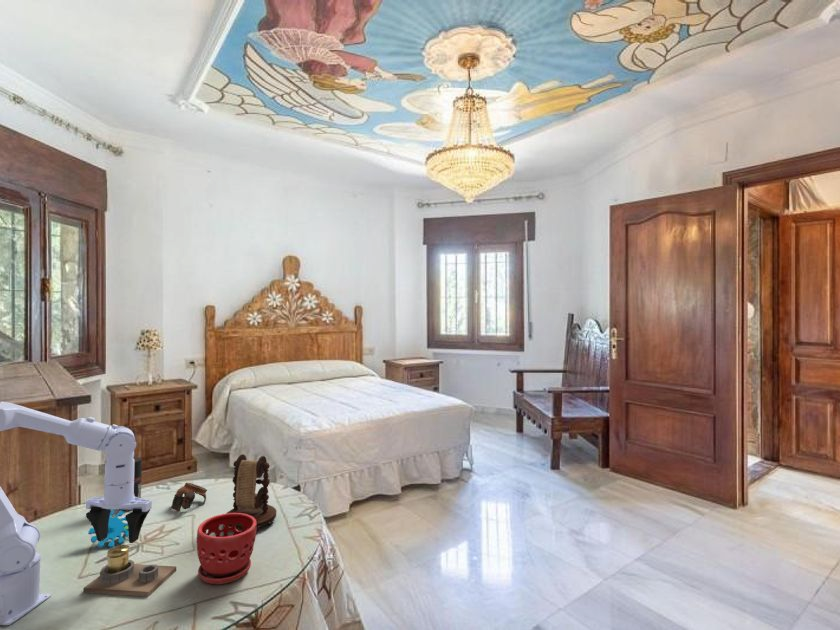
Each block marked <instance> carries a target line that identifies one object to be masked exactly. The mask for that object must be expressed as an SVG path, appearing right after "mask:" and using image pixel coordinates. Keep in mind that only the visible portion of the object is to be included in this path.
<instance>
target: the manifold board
mask: <svg viewBox="0 0 840 630" xmlns="http://www.w3.org/2000/svg"><path fill="white" fill-rule="evenodd" d="M176 571H177V566H175V565H173V566H172V565H158V564H141V563H140V564H139V563H137V564H136V563H135V561H133V560H131V559H129V560H128V569H126V570H124V571H121V572H119V573H114V574H108V564H106V565H105V566H103V567H102V568H101V569H100V571H99V576H97V577H96V578H95V579H93V580H91V581H90V582H89V583H88V584H86V586H84V587H83V593H86V594H103V595H104V594H105V595H106V594H107V595H117V596H118V595H120V596H133V597H134V596H135V597H139V596H140V597H150V596H151V595H152V594H153V593H154V592H155V591H156V590H157V589H159V588H160V587H161V585H163V584H164V583H165V582H166V581H167V580H169V578H170V577H171V576H172V575H174V573H175V572H176Z"/></svg>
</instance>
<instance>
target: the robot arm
mask: <svg viewBox="0 0 840 630" xmlns="http://www.w3.org/2000/svg"><path fill="white" fill-rule="evenodd" d="M95 419H96V418H95V417H92V416H88V417H87V418H85V417H84V418H83V417H79V418H77V419H75V420H69V419H66V418H61V417H59V416H56V415H52V414H49V413H46V412H43V411H39V410H36V409H32V408H29V407H26V406H23V405H20V404H19V405H18V404H15V403H12V402H8V401H1V402H0V432H3V431H8V430H10V429H15V428H18V427H19V428H25V429H29V430H35V431H39V432H43V433H48V434H54V435H58V436H63V437H64V439H65V441H66V443H67V444H70V445H74V446H78V447H81V448H85V449H90V450H93V451H98V452H101V451H105V454H106V462H105V464H104V493H103V495H104V496H100V497H91V498H89V499H87V500H85V509H86V510H89V511H88V512H86V513H85V518H87V520H88V521H89V522H90V525H91V524H92V525H91V526H92V528H94V530H95V533H96V534H95V536H96V537H97V540H96V541H97V542H100V541H104V539H105V538H107V535H108V523H109V516H110V512H111V510H119V509H124V510H132V511H129V513H127V514H125V515H124V517H125V518H126V520H127V521H126V523H128V528H129V536H128V543H129V544H133V543H135V542H136V541H138V540H139V537H140V534H141V529H142V527H143V524H144V522H145V520H146V518H147V516H148V514H149V513H150V511H151V509H152V505H153V504H152V501H153V500H151V499H146V498H142V497H141V498H138V497H134V464H135V460H134V458H133V457H135V450H136V447H137V442H136V441H137V440H136V438H135V434H134V432H133V430H131V429H130V428H128V427H126V426H124V425H121V426H119V425H117V424H114V423H113V424H112V425H110V424H107V423H106V424H105V423H102V422H99V421H95ZM40 538H41V532H40V530H39V528H38V527H37V526H36V525H33V524H31V523H30V522H28V521H27V520H26V519H25V516H23V515H21V514H19V513H18V512H17V511H16V509H15V507H14V506H13V504H12V503H11V501H10V499H9V497H7V495H6V493H5V491H4V489H2V487H1V486H0V626H10V625H12V624H14V623H15V622H16V621H18V620H19V619H20V618H22V617H23V616H25V615H26V614H27V613H29V612H31V611H32V610H33V609H35V608H36V607H38V606H39V605H40V604H42V603H43V602H45V601H46V600H48V599H49V598H50V597H51V593H41V592H40V591H41V589H40V588H41V587H40V585H41V583H40V582H41V581H40V580H41V554H39V552H37V551H36V550H37V545H38V543H39V541H40Z"/></svg>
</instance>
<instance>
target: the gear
mask: <svg viewBox="0 0 840 630" xmlns="http://www.w3.org/2000/svg"><path fill="white" fill-rule="evenodd" d="M114 513H115V509H111V512H110V516H109V523H108V535H107V538H105V539H104V540H102V541H98V540H97V537H96V533H95V530H94V528H93V527H90V528H89V530H88V533H87V534H88V535H93V534H95V535H93V536H91V538H90V541H91V543H95V542H97V541H98V543H97V546H98V547H99V548H103V547H104V546H105V543H106V542H108V541H109V540H110V542H109V543H108V544H107V548H109V549H110V548H112V547H115V539H116V538H118V541H117V544H118V545H122V544H123V543H124V542H125V538H129V528H128V523H127V520H126V518H125V516H124V514H125V512H123V511H121V510H120V511H119V510H118V513H117V514H116V515H115V516H113V515H114ZM122 516H124V517H122ZM119 517H121V518H119ZM124 521H125V522H124ZM90 525H91V526H92V524H91V523H90ZM123 533H124V537H125V538H124V537H123V536H122V534H123Z"/></svg>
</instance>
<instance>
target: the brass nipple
mask: <svg viewBox="0 0 840 630" xmlns="http://www.w3.org/2000/svg"><path fill="white" fill-rule="evenodd" d="M106 553H107V565H108V574H114V573H119V572H121V571H124V570H126V569H128V560H130V559H129V555H130V545H128V544H118V545H116V546H115V545H114V546H113V547H111V548H110V547H109V549H108V550H107V552H106Z"/></svg>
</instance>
